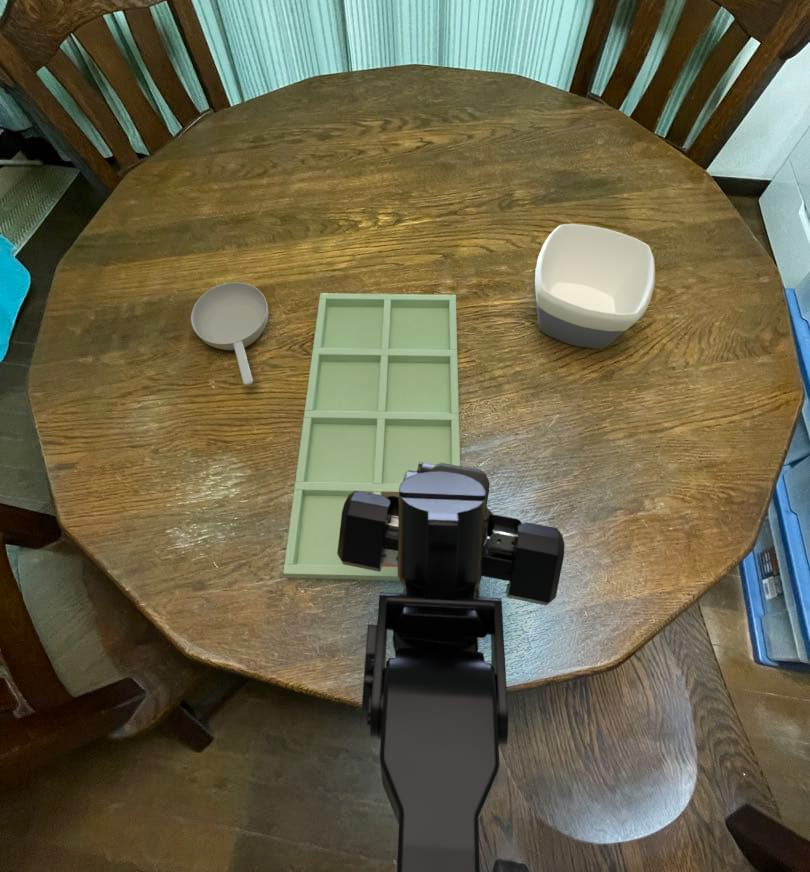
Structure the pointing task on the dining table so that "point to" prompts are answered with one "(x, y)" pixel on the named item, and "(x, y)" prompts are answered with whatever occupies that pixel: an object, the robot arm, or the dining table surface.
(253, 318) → the grey frying pan
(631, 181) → the dining table surface
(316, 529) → the grid
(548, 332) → the bowl
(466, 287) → the dining table surface
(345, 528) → the robot arm
